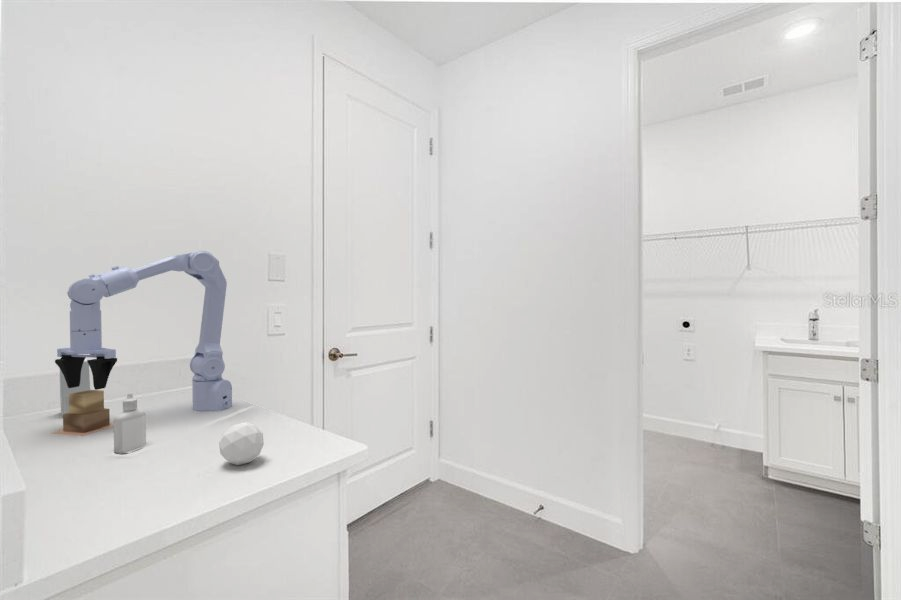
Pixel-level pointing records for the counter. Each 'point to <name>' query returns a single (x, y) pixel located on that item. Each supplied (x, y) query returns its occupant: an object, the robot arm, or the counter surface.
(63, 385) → the skincare box
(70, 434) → the grey square plate
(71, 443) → the counter surface
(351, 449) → the counter surface
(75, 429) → the walnut base block
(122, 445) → the eye dropper bottle
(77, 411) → the oak block
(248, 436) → the ball
